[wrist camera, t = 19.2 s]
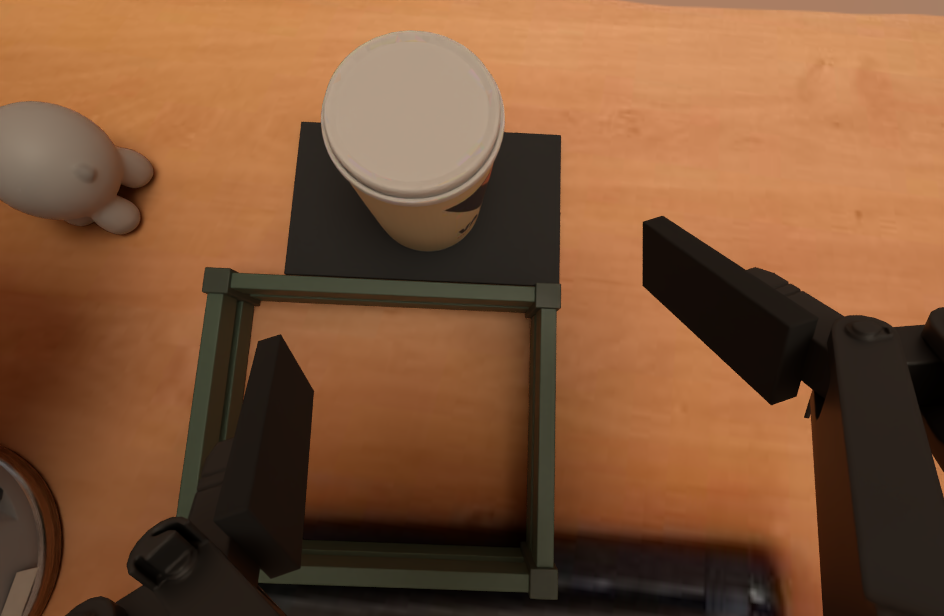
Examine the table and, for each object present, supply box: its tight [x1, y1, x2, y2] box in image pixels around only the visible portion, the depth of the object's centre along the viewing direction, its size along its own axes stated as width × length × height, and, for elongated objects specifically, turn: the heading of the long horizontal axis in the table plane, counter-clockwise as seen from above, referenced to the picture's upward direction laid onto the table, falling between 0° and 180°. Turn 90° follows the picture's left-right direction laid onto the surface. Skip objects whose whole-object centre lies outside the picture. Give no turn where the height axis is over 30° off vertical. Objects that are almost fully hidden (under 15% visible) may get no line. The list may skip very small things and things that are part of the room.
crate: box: [176, 267, 561, 600], centre depth 30 cm, size 22×18×5 cm
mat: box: [284, 122, 561, 286], centre depth 35 cm, size 20×12×1 cm, turn 87°
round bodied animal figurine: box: [0, 101, 153, 234], centre depth 30 cm, size 7×12×8 cm, turn 77°
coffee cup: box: [321, 30, 505, 252], centre depth 29 cm, size 9×9×12 cm
